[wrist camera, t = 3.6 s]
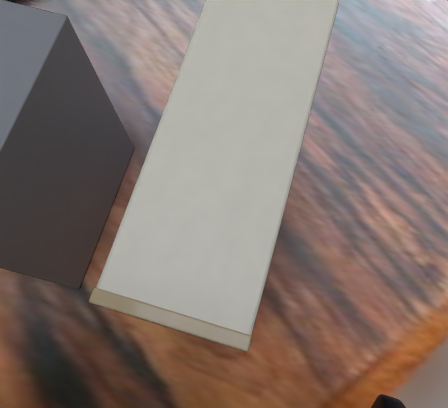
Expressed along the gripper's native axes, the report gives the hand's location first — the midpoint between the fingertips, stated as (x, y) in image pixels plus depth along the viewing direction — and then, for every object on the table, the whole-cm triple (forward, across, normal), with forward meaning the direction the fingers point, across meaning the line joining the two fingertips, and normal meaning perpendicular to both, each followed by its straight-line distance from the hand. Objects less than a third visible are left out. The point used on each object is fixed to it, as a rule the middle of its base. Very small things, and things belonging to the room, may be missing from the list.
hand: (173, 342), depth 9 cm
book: (+11, 0, +5) cm, 12 cm away
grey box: (+11, +10, +5) cm, 15 cm away
